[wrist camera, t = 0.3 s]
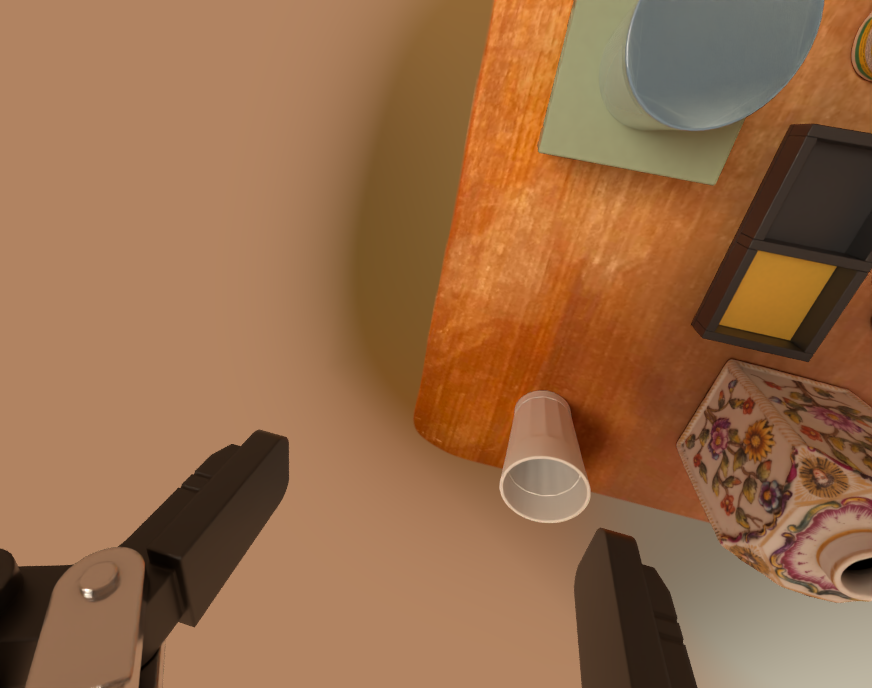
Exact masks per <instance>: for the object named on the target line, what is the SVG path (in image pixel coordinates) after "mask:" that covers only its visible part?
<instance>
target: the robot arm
mask: <svg viewBox="0 0 872 688" xmlns="http://www.w3.org/2000/svg"><path fill="white" fill-rule="evenodd" d="M288 481H289V442H288V439H287V437H284V436H280V435H277V434H273V433H270V432H266V431H263V430H257V431H255V432H254V433H253V434H252V435H251V436H250V437H249V438H248V439H247V440H246V441H245V442H244V443H243V444H242V446H238V445H234V444H231V445H229V446H227V447H225V448H223V449H221V450H220V451H218V452H216V453H214V454H212V455H211V456H210V457H209V458H208V459H207V460H206V461H205V462H204V463H203V464H202V465H201V466H200V467H199V468H198V469H197V470H196V471H195V473H194V475H193V474H192V475H191V476H190V477H189V478H188V479H187V480H186V481H185V482H184V483H183V484H182V486H181V488H178V489H177V490H176V491H175V492H174V493H173V494H172V495H171V496H170V497H169V498H168V499H167V500H166V501H165V502H164V503H163V504H162V505H161V506H160V507H159V508H158V509H157V510H156V511H155V512H154V513H153V514H152V515H151V516H150V517H149V518H148V519H147V520H146V521H145V522H144V523H143V524H142V525H141V526H140V527H139V528H138V529H137V530H136V531H135V532H134V533H133V534H132V535H131V536H130V537H129V538H128V539H127V540H126V541H124V542H123V543H122V544H121V545H119V546H118V547H113V548H108V549H104V550H101V551H98V552H95V553H93V554H90V555H88V556H86V557H85V558H83V559H81V560H80V561H78V562H77V563H75V564H74V565H60V566H22V567H18V565H17V563H16V561H15V559H14V558H13V556H12V554H11V553H9V552H8V551H6V550H3V549H0V688H163V674H164V659H165V639H166V638H167V636H168V635H169V633H170V632H171V631H172V629H173V628H174V627H175V625H176V624H177V623H178V622H180V623H184V624H186V625H189V626H192V627H195V626H196V625H197V623H198V622H199V620H200V619H201V617H202V616H203V615H204V613H205V612H206V610H207V609H208V607H209V606H210V604H211V603H212V601H213V600H214V598H215V597H216V595H217V594H218V593H219V591H220V590H221V588H222V587H223V585H224V584H225V582H226V581H227V580H228V578H229V577H230V575H231V574H232V572H233V571H234V569H235V568H236V566H237V565H238V563H239V562H240V561H241V559H242V557H243V556H244V555H245V553H246V552H247V550H248V549H249V547H250V546H251V545H252V543H253V542H254V540H255V538H256V537H257V536H258V534H259V533H260V531H261V530H262V528H263V527H264V526H265V524H266V523H267V521H268V520H269V518H270V516H271V515H272V514H273V512H274V511H275V509H276V508H277V507H278V505H279V504H280V502H281V500H282V499H283V496H284V494H285V492H286V489H287V486H288ZM574 594H575V608H576V619H577V632H578V645H579V656H580V670H581V681H582V688H697V685H696V681H695V678H694V675H693V671H692V667H691V664H690V660H689V657H688V653H687V650H686V647H685V645H683V636H682V633H681V629H680V626H679V623H677V615H676V612H675V608H674V605H673V601H672V598H671V594H670V592H669V590H668V589H667V587H666V585H665V584H664V582H663V581H662V579H661V578H660V576H659V574H658V573H657V571H656V570H655V568H653V567H650V566H646V565H643V564H642V563H641V559H640V554H639V550H638V546H637V543H636V540H635V539H634V538H633V537H632V536H628V535H625V534H621V533H617V532H614V531H611V530H607V529H603V528H599V529H598V530H597V531H596V533H595V535H594V537H593V539H592V541H591V542H590V544H589V546H588V548H587V550H586V552H585V554H584V556H583V558H582V560H581V561H580V563H579V565H578V568H577V572H576V576H575V585H574Z"/></svg>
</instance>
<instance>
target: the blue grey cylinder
mask: <svg viewBox="0 0 872 688" xmlns="http://www.w3.org/2000/svg"><path fill="white" fill-rule="evenodd" d="M823 7H824V0H637V1H636V2H635V3H634V5H633V6H632V7H631V9H630V10H629V11H628V13H627V14H626V15H625V17H624V18H623V19H622V21H621V22H620V23H619V25H618V26H617V27H616V29H615V30H614V31H613V33H612V35H611V36H610V38H609V40H608V42H607V44H606V46H605V49H604V52H603V55H602V58H601V63H600V69H599V87H600V93H601V97H602V100H603V102H604V104H605V106H606V108H607V110H608V111H609V113H610V114H611V115H612V116H613V117H614V118H615V119H616V120H617V121H618V122H620V123H621V124H623V125H625V126H627V127H629V128H632V129H636V130H641V131H665V130H678V131H706V130H712V129H717V128H721V127H724V126H728V125H730V124H732V123H735V122H737V121H740V120H742V119H743V118H745V117H747V116H749V115H751V114H753V113H754V112H755V111H757V110H758V109H760V108H761V107H763V106H764V105H765V104H767V103H768V102H769V101H770V100H771V99H773V98H774V97H775V96H776V95H777V94H778V93H779V92H780V91H781V90H782V89H783V88H784V87H785V86H786V85H787V83H788V82H789V81H790V80H791V79H792V77H793V76H794V75H795V74H796V72H797V71H798V69H799V68H800V66H801V65H802V63H803V62H804V60H805V58H806V56H807V55H808V53H809V51H810V49H811V47H812V45H813V42H814V40H815V37H816V35H817V32H818V29H819V26H820V22H821V19H822V13H823Z"/></svg>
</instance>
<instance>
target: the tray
mask: <svg viewBox="0 0 872 688" xmlns="http://www.w3.org/2000/svg"><path fill="white" fill-rule="evenodd" d="M871 269H872V134H871V133H865V132H859V131H853V130H847V129H842V128H836V127H830V126H824V125H818V124H796V125H795V124H793V125H790V127H789V129H788V131H787V133H786V135H785V137H784V139H783V141H782V143H781V145H780V147H779V149H778V151H777V153H776V155H775V157H774V159H773V161H772V163H771V165H770V167H769V169H768V171H767V173H766V175H765V177H764V179H763V181H762V183H761V185H760V187H759V189H758V191H757V193H756V195H755V197H754V199H753V201H752V203H751V205H750V207H749V209H748V211H747V213H746V215H745V217H744V219H743V221H742V223H741V225H740V227H739V229H738V231H737V233H736V235H735V237H734V239H733V241H732V243H731V245H730V247H729V249H728V251H727V253H726V255H725V257H724V259H723V261H722V263H721V265H720V267H719V269H718V271H717V273H716V275H715V277H714V279H713V281H712V283H711V285H710V287H709V289H708V292H707V294H706V296H705V298H704V300H703V302H702V304H701V306H700V308H699V310H698V312H697V314H696V316H695V318H694V320H693V322H692V324H691V325H692V326H693V327H694V329H695V330H696V331H697V332H698V334H699V335H700V336H701V337H702V338H705V339H709V340H713V341H718V342H722V343H726V344H731V345H735V346H740V347H744V348H748V349H753V350H757V351H762V352H766V353H770V354H775V355H779V356H784V357H788V358H792V359H797V360H801V361H806V362H809V361H810V359H811V358H812V356H813V354H814V353H815V352H816V350H817V349H818V347H819V346H820V344H821V343H822V341H823V340H824V338H825V337H826V335H827V334H828V333H829V331H830V330H831V328H832V327H833V325H834V324H835V322H836V321H837V319H838V318H839V316H840V315H841V313H842V312H843V310H844V309H845V307H846V306H847V304H848V303H849V301H850V300H851V298H852V297H853V295H854V294H855V293H856V291H857V290H858V288H859V287H860V285H861V284H862V282H863V281H864V279H865V278H866V276H867V275H868V273H867V272H870V270H871Z"/></svg>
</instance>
